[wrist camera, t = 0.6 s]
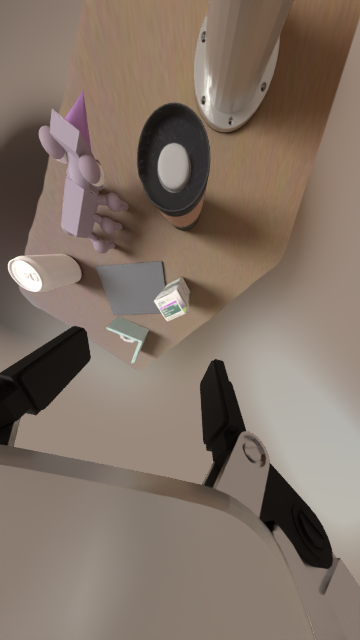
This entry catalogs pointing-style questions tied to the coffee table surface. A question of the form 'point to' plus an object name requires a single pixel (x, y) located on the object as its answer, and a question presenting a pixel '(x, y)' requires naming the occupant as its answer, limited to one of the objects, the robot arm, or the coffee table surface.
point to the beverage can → (44, 271)
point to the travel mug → (175, 163)
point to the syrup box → (174, 299)
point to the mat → (132, 286)
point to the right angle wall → (129, 333)
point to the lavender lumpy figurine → (80, 176)
